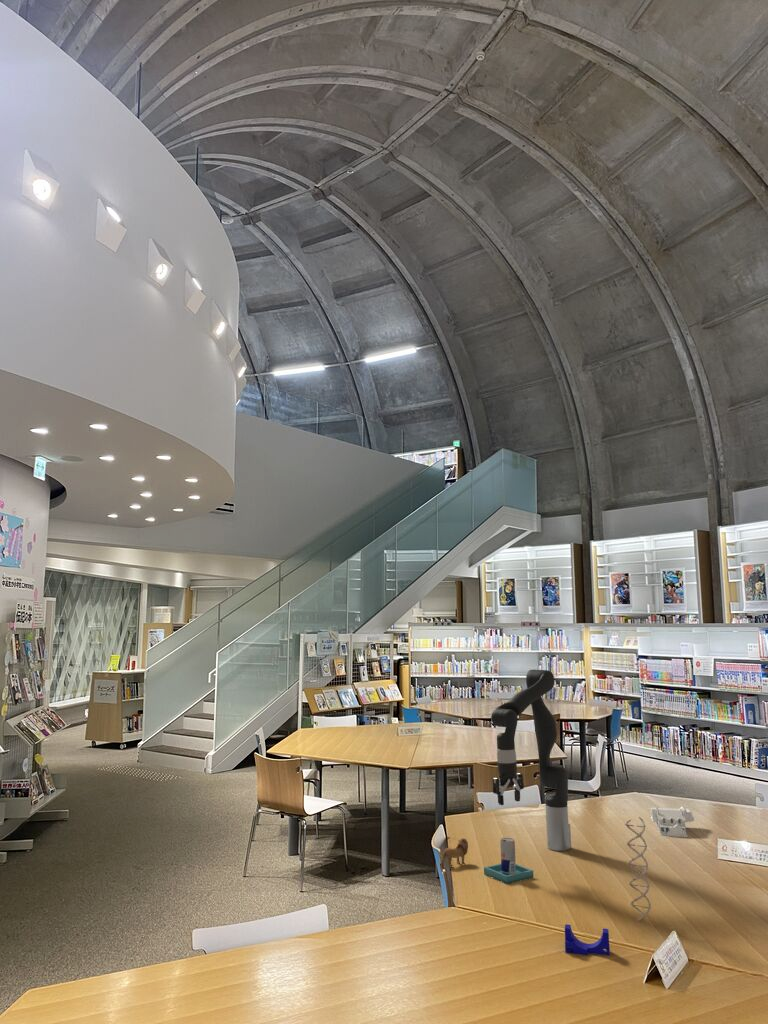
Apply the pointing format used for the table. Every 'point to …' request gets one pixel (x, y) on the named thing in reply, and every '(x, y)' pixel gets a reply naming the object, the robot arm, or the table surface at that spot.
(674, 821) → the house model
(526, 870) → the tray
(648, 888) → the dna model
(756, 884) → the table surface
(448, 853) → the lion figurine
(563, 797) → the robot arm
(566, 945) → the blue curved block
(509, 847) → the energy drink
